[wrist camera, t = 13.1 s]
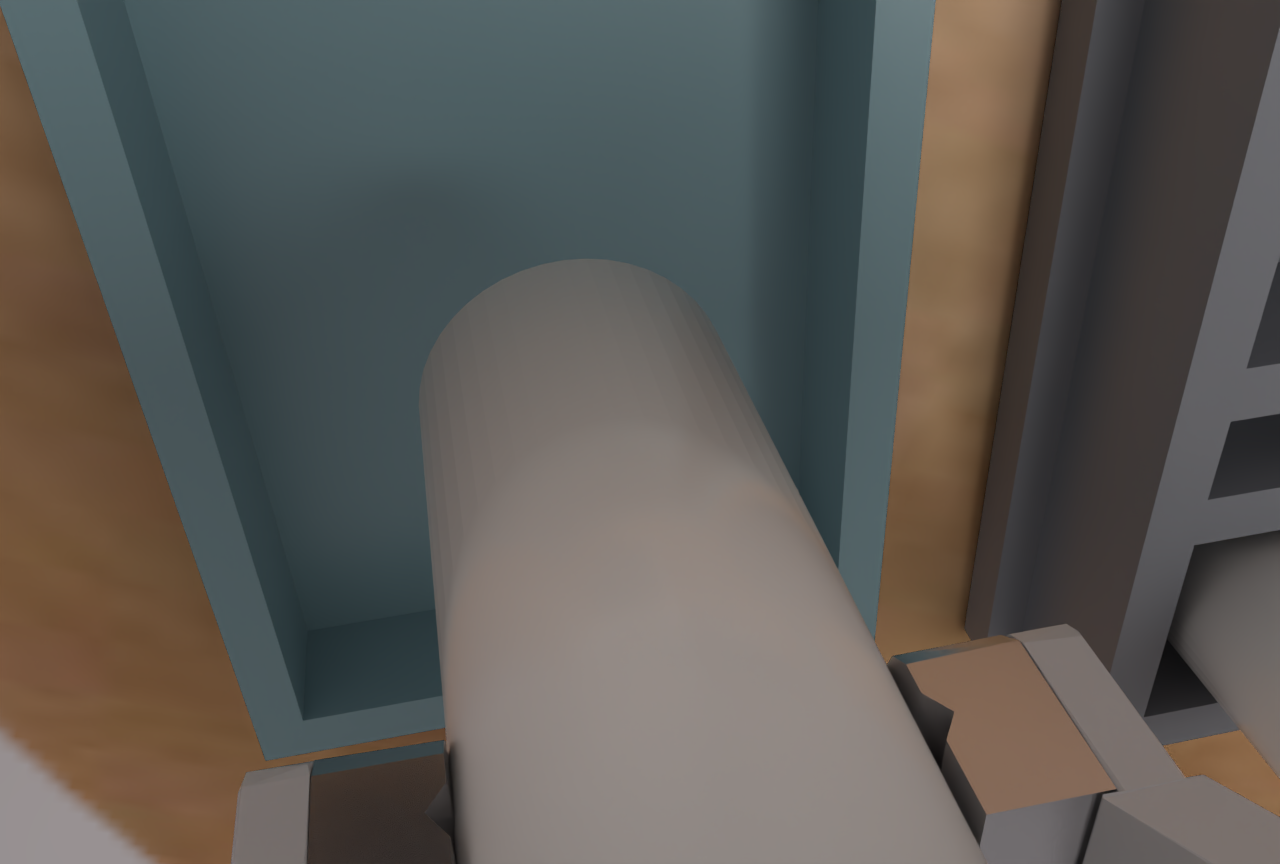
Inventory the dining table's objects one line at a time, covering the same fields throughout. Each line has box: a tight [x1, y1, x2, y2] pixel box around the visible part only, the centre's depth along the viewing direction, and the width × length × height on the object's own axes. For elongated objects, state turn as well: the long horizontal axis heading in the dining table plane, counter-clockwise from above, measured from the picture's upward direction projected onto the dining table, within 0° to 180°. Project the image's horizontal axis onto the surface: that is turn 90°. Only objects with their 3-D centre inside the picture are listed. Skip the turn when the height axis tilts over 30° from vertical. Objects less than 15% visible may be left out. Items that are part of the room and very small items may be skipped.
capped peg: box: [419, 259, 988, 864], centre depth 9 cm, size 4×4×11 cm
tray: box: [0, 0, 936, 761], centre depth 17 cm, size 16×11×3 cm
